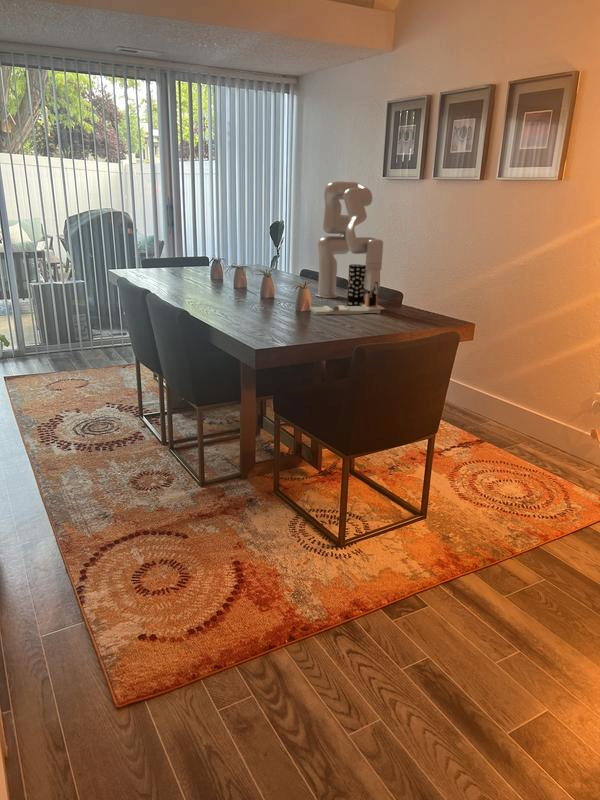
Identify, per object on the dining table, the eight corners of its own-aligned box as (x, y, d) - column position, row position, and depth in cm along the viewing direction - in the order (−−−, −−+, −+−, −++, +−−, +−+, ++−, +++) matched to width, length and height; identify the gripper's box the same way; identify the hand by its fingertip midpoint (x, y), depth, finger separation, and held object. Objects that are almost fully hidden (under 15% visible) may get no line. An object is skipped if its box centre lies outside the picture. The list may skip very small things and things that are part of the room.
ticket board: (309, 310, 289) (309, 302, 288) (371, 308, 297) (372, 301, 296) (316, 315, 278) (316, 307, 277) (380, 313, 286) (381, 305, 285)
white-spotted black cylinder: (347, 307, 299) (349, 266, 292) (346, 303, 307) (348, 264, 300) (364, 307, 299) (366, 266, 292) (362, 304, 307) (365, 264, 300)
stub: (361, 305, 294) (362, 292, 292) (376, 305, 296) (377, 291, 294) (368, 309, 285) (369, 295, 283) (384, 309, 287) (385, 295, 285)
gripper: (360, 264, 290) (357, 301, 296) (372, 268, 275) (369, 308, 281) (374, 264, 292) (372, 301, 298) (387, 268, 277) (384, 308, 283)
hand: (370, 304), depth 290 cm, fingers closed on stub, 3 cm apart
